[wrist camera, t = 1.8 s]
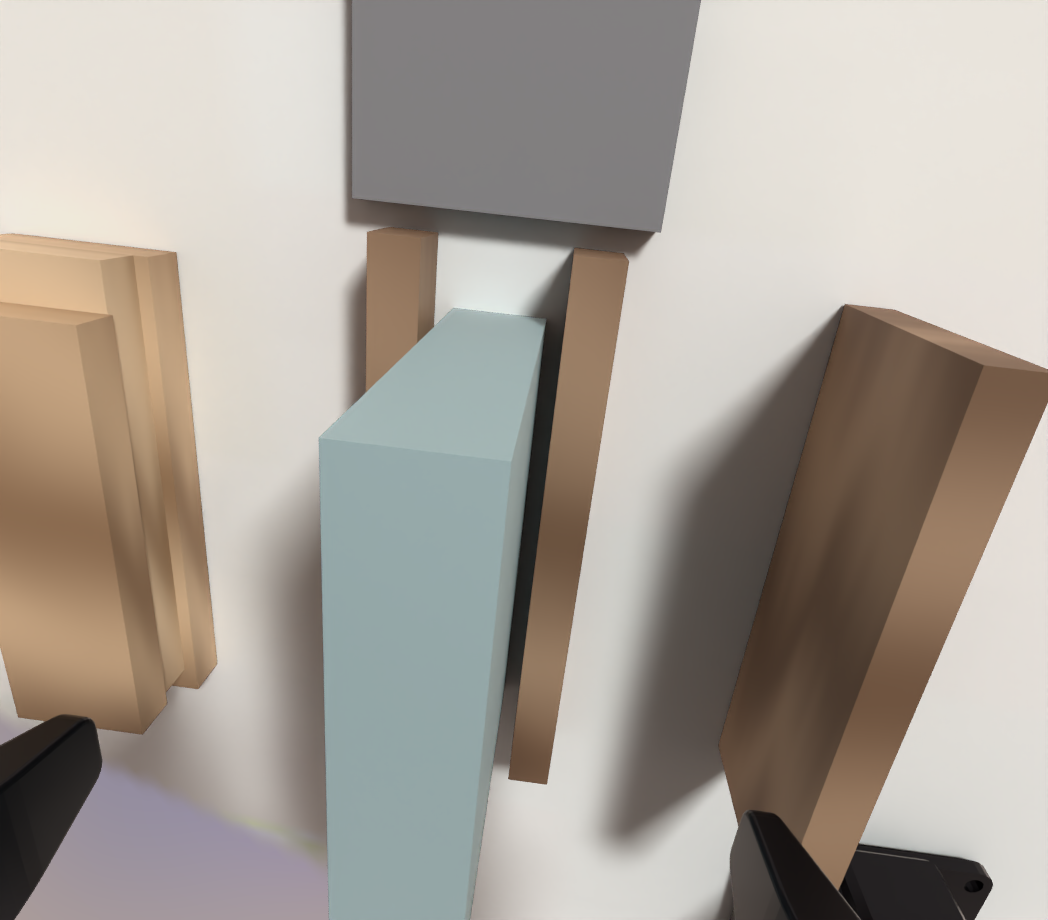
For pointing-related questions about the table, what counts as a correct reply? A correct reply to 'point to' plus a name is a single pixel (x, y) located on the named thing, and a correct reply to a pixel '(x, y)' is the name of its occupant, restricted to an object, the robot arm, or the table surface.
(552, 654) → the walnut rack
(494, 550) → the grey-green rectangular slab
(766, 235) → the table surface
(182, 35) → the table surface
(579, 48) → the rubber mat
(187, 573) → the offcut stack
